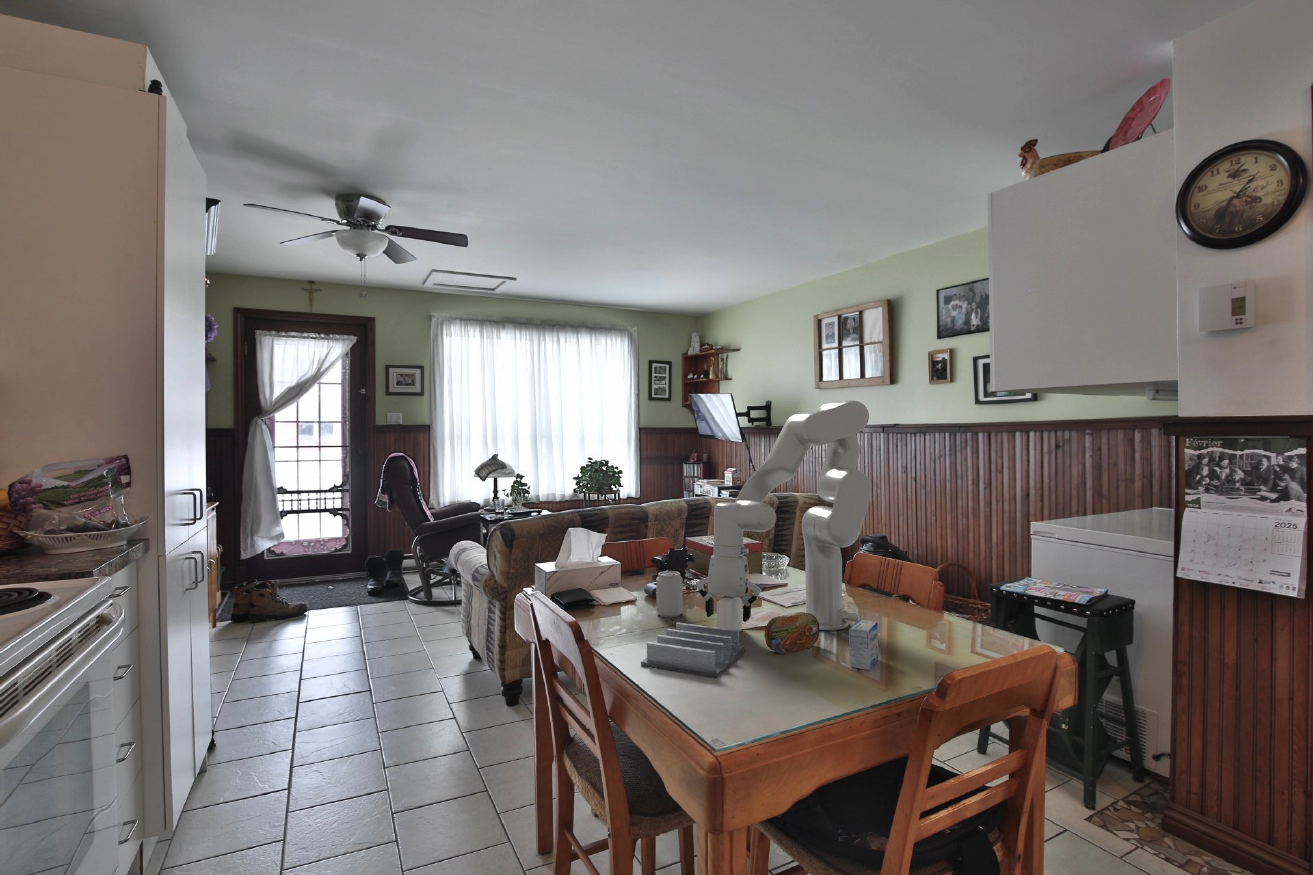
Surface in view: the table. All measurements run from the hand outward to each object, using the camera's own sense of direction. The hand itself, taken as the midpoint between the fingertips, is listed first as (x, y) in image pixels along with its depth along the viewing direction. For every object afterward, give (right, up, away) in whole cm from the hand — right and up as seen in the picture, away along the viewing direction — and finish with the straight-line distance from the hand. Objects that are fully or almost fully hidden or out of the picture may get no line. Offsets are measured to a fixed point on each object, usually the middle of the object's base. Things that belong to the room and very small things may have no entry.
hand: (727, 617), depth 166 cm
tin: (+14, -5, -11) cm, 18 cm away
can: (-14, -5, +20) cm, 25 cm away
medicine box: (+28, -5, -21) cm, 35 cm away
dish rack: (-9, -5, -16) cm, 19 cm away
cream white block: (+1, -5, 0) cm, 5 cm away
